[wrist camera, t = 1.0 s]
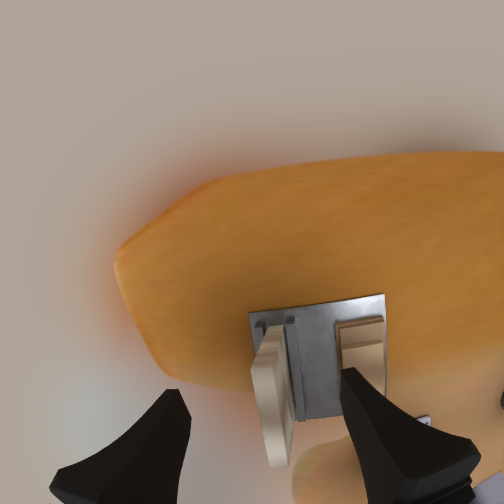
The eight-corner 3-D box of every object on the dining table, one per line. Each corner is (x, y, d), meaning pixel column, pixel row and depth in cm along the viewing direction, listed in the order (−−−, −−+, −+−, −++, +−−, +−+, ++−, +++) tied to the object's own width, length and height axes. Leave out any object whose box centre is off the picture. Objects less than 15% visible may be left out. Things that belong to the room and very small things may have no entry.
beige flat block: (295, 409, 27) (288, 467, 18) (281, 410, 27) (270, 467, 18) (284, 324, 27) (272, 367, 18) (268, 326, 27) (250, 368, 18)
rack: (384, 405, 26) (388, 415, 24) (267, 419, 28) (265, 430, 26) (383, 293, 25) (388, 298, 23) (248, 312, 28) (244, 318, 26)
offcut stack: (382, 394, 25) (387, 406, 23) (340, 401, 26) (341, 414, 24) (381, 315, 25) (388, 322, 22) (334, 323, 26) (337, 331, 23)
